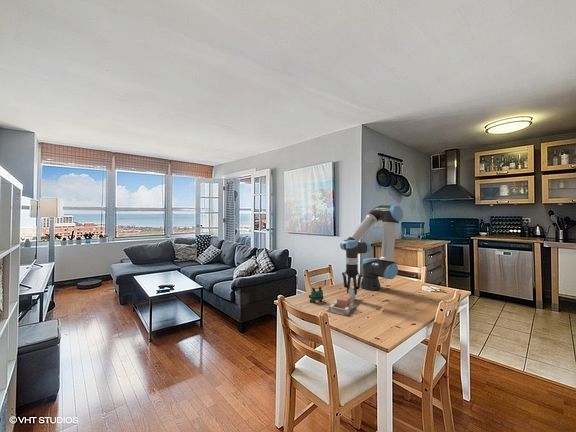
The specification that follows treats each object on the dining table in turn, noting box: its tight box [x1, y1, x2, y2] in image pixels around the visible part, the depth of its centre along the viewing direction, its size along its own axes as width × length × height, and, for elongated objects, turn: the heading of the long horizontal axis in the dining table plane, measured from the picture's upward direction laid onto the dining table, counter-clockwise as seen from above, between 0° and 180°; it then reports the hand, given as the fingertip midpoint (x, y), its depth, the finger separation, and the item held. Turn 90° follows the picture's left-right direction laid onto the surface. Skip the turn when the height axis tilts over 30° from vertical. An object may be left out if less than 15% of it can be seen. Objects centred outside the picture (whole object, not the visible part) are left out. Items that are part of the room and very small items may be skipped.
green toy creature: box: [308, 286, 324, 304], centre depth 170 cm, size 9×11×10 cm
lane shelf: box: [326, 298, 364, 317], centre depth 162 cm, size 30×14×4 cm, turn 148°
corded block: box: [336, 286, 354, 309], centre depth 164 cm, size 22×6×8 cm, turn 149°
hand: (352, 298), depth 172 cm, fingers closed on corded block, 2 cm apart
